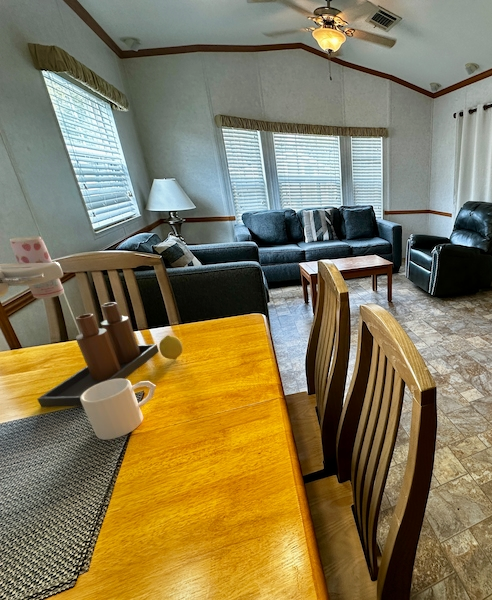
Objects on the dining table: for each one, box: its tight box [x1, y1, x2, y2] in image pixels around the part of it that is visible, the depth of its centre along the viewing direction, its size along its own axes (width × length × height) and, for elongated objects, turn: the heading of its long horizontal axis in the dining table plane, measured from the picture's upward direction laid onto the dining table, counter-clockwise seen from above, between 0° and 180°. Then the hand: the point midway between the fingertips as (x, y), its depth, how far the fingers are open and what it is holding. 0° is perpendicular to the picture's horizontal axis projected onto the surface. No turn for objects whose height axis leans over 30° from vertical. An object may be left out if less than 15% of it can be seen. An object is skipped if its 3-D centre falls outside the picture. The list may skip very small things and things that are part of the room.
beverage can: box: [9, 235, 65, 300], centre depth 83 cm, size 6×6×15 cm
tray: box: [36, 343, 160, 408], centre depth 89 cm, size 25×11×2 cm, turn 2°
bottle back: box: [100, 301, 141, 364], centre depth 94 cm, size 6×6×18 cm
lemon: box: [158, 334, 184, 361], centre depth 96 cm, size 6×6×8 cm
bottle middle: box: [75, 313, 121, 381], centre depth 86 cm, size 6×6×18 cm
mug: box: [80, 378, 157, 441], centre depth 71 cm, size 8×12×10 cm, turn 131°
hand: (40, 264), depth 83 cm, fingers closed on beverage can, 5 cm apart
